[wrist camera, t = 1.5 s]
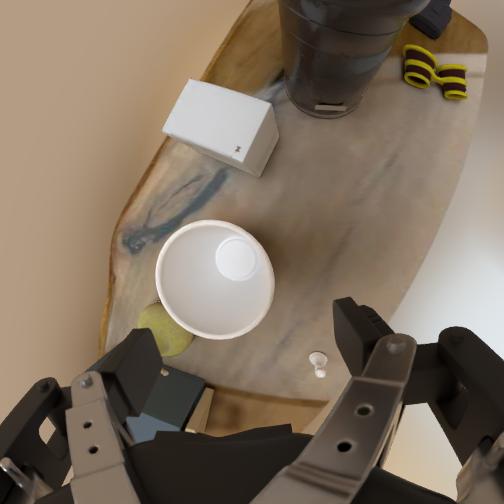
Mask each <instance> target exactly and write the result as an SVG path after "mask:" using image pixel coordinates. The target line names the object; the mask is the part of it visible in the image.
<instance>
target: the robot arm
mask: <svg viewBox="0 0 504 504" xmlns="http://www.w3.org/2000/svg"><path fill="white" fill-rule="evenodd" d="M430 1H431V0H278V6H279V13H280V23H281V34H282V45H283V57H284V71H285V75H284V84H285V89H286V92H287V95H288V97H289V98H290V100H291V101H292V102H293V103H294V104H295V105H296V106H297V107H298V108H299V109H300V110H302V111H303V112H305V113H307V114H309V115H312V116H315V117H319V118H326V119H332V118H339V117H342V116H345V115H347V114H349V113H350V112H351V111H353V110H354V109H355V108H356V106H357V105H358V104H359V102H360V100H361V98H362V95H363V94H364V92H365V91H366V89H367V88H368V86H369V84H370V83H371V81H372V80H373V78H374V76H375V75H376V73H377V71H378V70H379V68H380V66H381V65H382V63H383V62H384V60H385V58H386V57H387V55H388V53H389V52H390V50H391V48H392V47H393V45H394V43H395V42H396V40H397V38H398V36H399V35H400V33H401V31H402V30H403V28H404V26H405V25H406V23H407V22H408V20H409V19H410V17H412V16H415V15H416V14H418V13H420V12H421V11H422V10H423V9H424V8H425V7H426V6H427V5H428V4H429V2H430ZM333 318H334V334H335V340H336V344H337V347H338V349H339V351H340V353H341V355H342V357H343V359H344V361H345V363H346V365H347V367H348V369H349V371H350V373H351V375H352V378H351V379H350V381H349V382H348V384H347V386H346V387H345V389H344V391H343V392H342V394H341V396H340V397H339V399H338V401H337V402H336V404H335V405H334V407H333V409H332V410H331V412H330V413H329V415H328V416H327V418H326V419H325V421H324V422H323V424H322V425H321V426H320V428H319V430H318V431H317V432H316V434H315V435H310V434H302V433H292V427H291V424H284V425H277V426H270V427H261V428H254V429H251V430H247V431H244V432H240V433H236V434H232V435H228V436H224V437H213V436H207V435H202V434H196V433H192V432H187V431H158V430H157V431H156V434H155V437H154V439H153V440H148V441H143V442H140V443H137V441H136V439H135V437H134V435H133V432H132V430H131V428H130V426H129V424H128V422H127V421H126V418H127V417H140V414H141V412H142V410H143V408H144V406H145V404H146V402H147V400H148V397H149V395H150V393H151V391H152V389H153V387H154V385H155V383H156V381H157V379H158V376H159V374H160V372H161V370H162V367H163V361H162V357H161V354H160V351H159V349H158V346H157V343H156V341H155V338H154V335H153V333H152V330H151V329H150V328H137V329H133V330H132V331H131V332H130V333H129V335H128V336H127V337H126V338H125V340H124V341H122V342H121V343H120V344H118V345H117V346H116V347H115V348H114V350H113V351H112V353H110V355H109V356H108V358H106V360H105V361H104V362H103V363H102V365H101V366H100V367H99V368H98V370H97V371H88V372H85V373H82V374H80V375H78V376H77V377H76V378H74V380H73V381H72V383H71V386H69V387H62V388H60V386H59V384H58V382H57V381H56V379H55V378H52V377H48V378H44V379H41V380H40V381H38V382H37V383H35V384H34V385H33V387H32V388H31V389H30V390H29V391H28V392H27V393H26V394H25V396H24V397H23V398H22V399H21V400H20V402H19V403H18V404H17V405H16V406H15V407H14V409H13V410H12V411H11V412H10V413H9V415H8V416H7V417H6V418H5V420H4V421H3V422H2V423H1V425H0V504H504V360H503V359H502V358H501V357H500V356H498V355H497V354H496V353H495V352H494V351H493V350H492V349H491V348H490V347H489V346H488V345H487V344H486V343H484V342H483V341H482V340H481V339H480V338H479V337H478V336H477V335H475V334H474V333H473V332H472V331H471V330H469V329H467V328H464V327H457V326H455V327H449V328H446V329H444V330H443V331H442V332H441V333H440V334H439V339H438V342H437V343H430V344H420V345H419V344H417V342H416V340H415V339H414V338H413V337H411V336H409V335H406V334H399V333H397V334H395V333H394V331H393V330H392V329H391V328H390V327H389V326H388V325H387V324H386V322H385V321H384V320H382V318H381V317H380V316H378V314H377V313H376V311H375V310H374V309H372V308H370V307H368V306H365V305H361V306H358V305H357V304H356V303H355V301H354V300H353V299H352V298H351V297H346V298H341V299H336V300H333ZM419 403H428V405H429V407H430V408H431V410H432V412H433V413H434V415H435V417H436V419H437V420H438V422H439V424H440V425H441V427H442V429H443V431H444V433H445V434H446V436H447V438H448V440H449V442H450V444H451V446H452V447H453V449H454V451H455V453H456V455H457V457H458V459H459V461H460V462H461V465H462V469H461V470H460V472H459V473H458V476H457V479H456V487H457V491H458V496H457V501H456V502H455V501H454V500H453V499H451V498H449V497H447V496H445V495H443V494H440V493H437V492H434V491H432V490H429V489H427V488H424V487H422V486H419V485H417V484H414V483H412V482H409V481H407V480H405V479H403V478H400V477H398V476H396V475H394V474H392V473H390V472H387V471H385V470H383V469H382V468H383V466H384V464H385V461H386V459H387V456H388V454H389V451H390V448H391V445H392V443H393V440H394V438H395V435H396V433H397V430H398V427H399V424H400V422H401V419H402V416H403V413H404V410H405V407H406V405H412V404H419ZM46 417H48V418H49V420H50V421H51V422H52V424H53V425H54V427H55V428H56V430H55V431H54V433H53V435H52V436H51V438H50V439H49V441H48V443H47V444H45V443H44V442H43V441H42V439H41V437H40V435H39V427H40V425H41V424H42V423H43V421H44V420H45V418H46ZM71 465H72V467H73V472H74V477H73V478H72V479H71V481H70V483H68V484H66V485H64V486H62V484H63V482H64V480H65V478H66V476H67V473H68V471H69V469H70V467H71ZM61 486H62V487H61Z"/></svg>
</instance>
